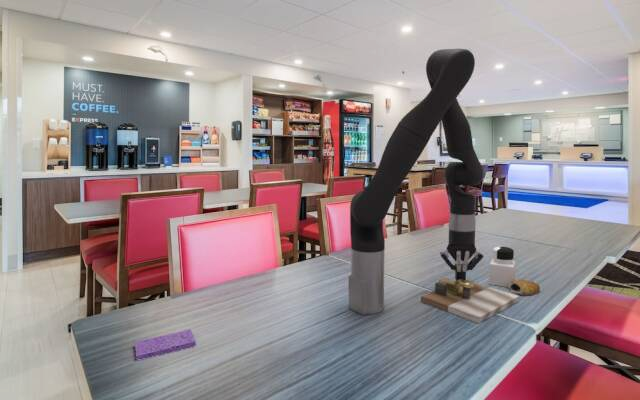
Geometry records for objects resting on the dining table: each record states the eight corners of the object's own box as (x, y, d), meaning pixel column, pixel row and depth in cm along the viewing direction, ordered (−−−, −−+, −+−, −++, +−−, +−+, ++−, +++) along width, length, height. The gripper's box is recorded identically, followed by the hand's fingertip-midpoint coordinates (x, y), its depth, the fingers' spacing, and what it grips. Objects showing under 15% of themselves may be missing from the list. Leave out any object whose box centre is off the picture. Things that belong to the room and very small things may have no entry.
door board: (478, 323, 95) (479, 304, 94) (420, 301, 109) (421, 285, 108) (518, 301, 108) (519, 284, 108) (462, 284, 122) (463, 269, 122)
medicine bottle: (514, 281, 124) (516, 246, 123) (512, 288, 118) (514, 251, 117) (491, 278, 128) (493, 244, 127) (488, 284, 122) (490, 248, 121)
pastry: (527, 286, 121) (528, 274, 120) (546, 293, 115) (547, 281, 114) (505, 290, 118) (506, 278, 117) (523, 298, 111) (524, 286, 111)
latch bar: (476, 297, 107) (476, 283, 106) (467, 300, 105) (467, 285, 104) (446, 286, 116) (446, 272, 115) (437, 288, 114) (437, 274, 113)
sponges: (196, 348, 86) (195, 340, 85) (135, 363, 80) (134, 355, 80) (191, 335, 92) (191, 328, 91) (134, 348, 86) (134, 340, 86)
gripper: (442, 230, 110) (440, 286, 112) (488, 230, 108) (486, 287, 111) (437, 225, 117) (435, 278, 120) (480, 225, 116) (478, 278, 118)
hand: (460, 282), depth 115 cm, fingers closed
